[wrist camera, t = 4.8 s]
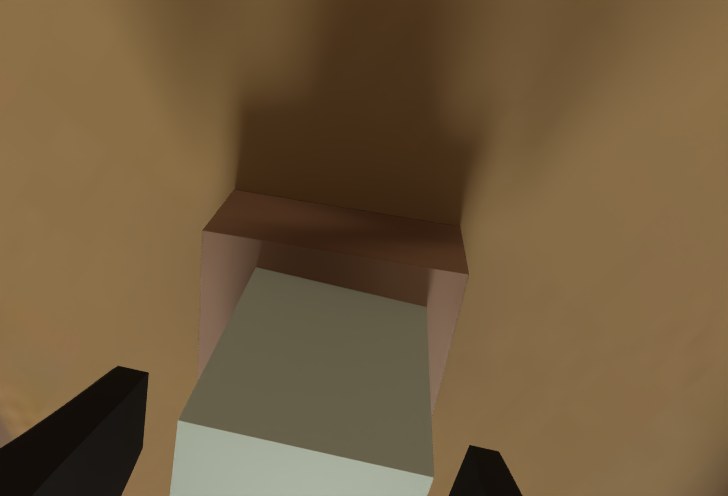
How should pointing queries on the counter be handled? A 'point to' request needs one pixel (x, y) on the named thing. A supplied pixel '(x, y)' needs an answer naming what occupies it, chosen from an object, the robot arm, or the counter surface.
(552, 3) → the counter surface
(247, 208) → the walnut slab
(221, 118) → the counter surface
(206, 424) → the green block
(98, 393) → the robot arm
